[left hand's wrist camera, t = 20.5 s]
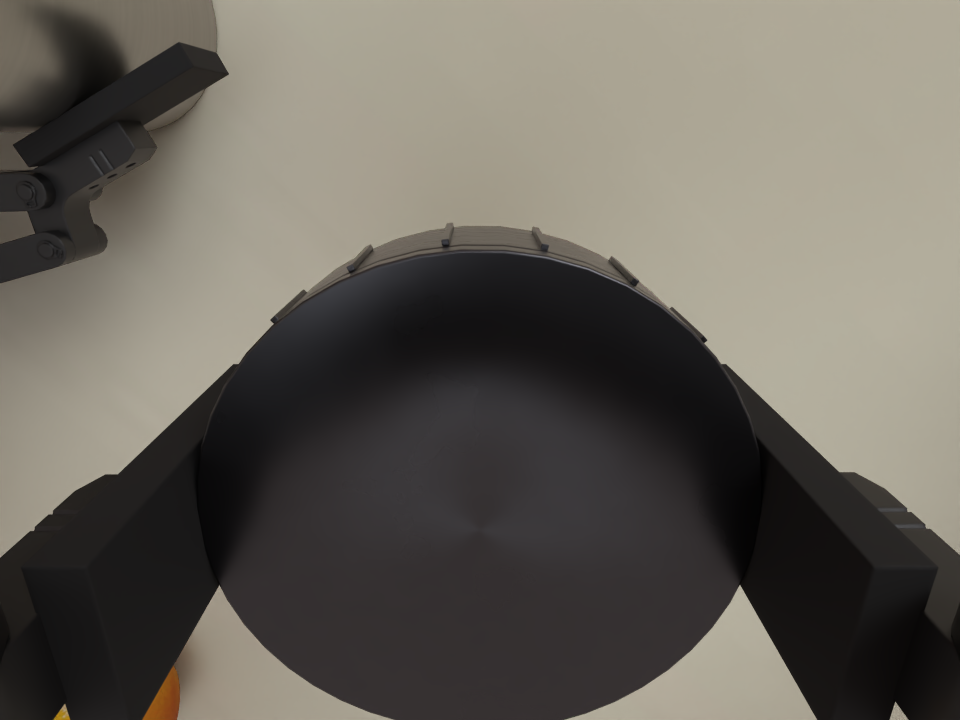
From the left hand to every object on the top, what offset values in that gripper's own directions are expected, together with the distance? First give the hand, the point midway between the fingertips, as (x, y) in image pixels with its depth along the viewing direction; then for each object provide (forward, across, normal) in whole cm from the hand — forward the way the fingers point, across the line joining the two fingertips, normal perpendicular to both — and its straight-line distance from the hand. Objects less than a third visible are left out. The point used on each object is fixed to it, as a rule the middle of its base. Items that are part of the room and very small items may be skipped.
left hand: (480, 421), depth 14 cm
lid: (-4, 0, 0) cm, 4 cm away
